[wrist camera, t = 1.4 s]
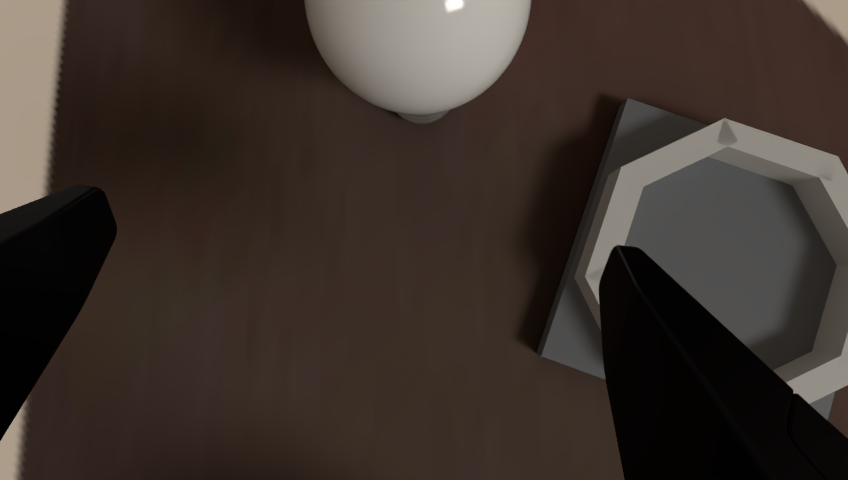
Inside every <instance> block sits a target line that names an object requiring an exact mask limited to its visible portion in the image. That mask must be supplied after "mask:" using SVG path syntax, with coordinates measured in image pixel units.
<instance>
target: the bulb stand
mask: <svg viewBox="0 0 848 480" xmlns="http://www.w3.org/2000/svg"><path fill="white" fill-rule="evenodd" d="M617 245H624V246H633V247H638V248H640V249H642V250H643V251H644V252H645V253H646V254H647V255H648V256H649V257H650V258H651V259H653V260H654V261H655V262H656V263H657V264H658V265H659V266H660V267H661V268H662V269H663V270H664V271H666V272H667V273H668V274H669V275H670V276H671V277H672V278H673V279H674V280H675V281H676V282H677V283H679V284H680V285H681V286H682V287H683V288H684V289H685V290H686V291H687V292H688V293H689V294H690V295H692V296H693V297H694V298H695V299H696V300H697V301H698V302H699V303H700V304H701V305H702V306H703V307H705V308H706V309H707V310H708V311H709V312H710V313H711V314H712V315H713V316H714V317H715V318H716V319H718V320H719V321H720V322H721V323H722V324H723V325H724V326H725V327H726V328H727V329H728V330H729V331H731V332H732V333H733V334H734V335H735V336H736V337H737V338H738V339H739V340H740V341H741V342H742V343H744V344H745V345H746V346H747V347H748V348H749V349H750V350H751V351H752V352H753V353H754V354H755V355H757V356H758V357H759V358H760V359H761V360H762V361H763V362H764V363H765V364H766V365H767V366H768V367H770V368H771V369H772V370H773V371H774V372H775V373H776V374H777V375H778V376H779V377H780V378H781V379H783V380H784V381H785V382H786V383H787V384H788V385H789V386H790V387H791V388H792V389H793V390H794V393H793V394H795V393H797V394H799V395H800V396H801V397H802V398H803V399H804V400H805V401H807V402H808V403H809V404H810V405H811V406H812V407H813V408H814V409H815V410H816V411H817V412H819V413H820V414H821V415H822V416H823V417H824V418H825V419H826V420H827V419H828V416H829V412H830V409H831V405H832V402H833V398H834V394H835V391H836V390H839V389H841V388H843V387H845V386H847V385H848V172H846V170H845V169H844V167H843V165H842V163H841V161H840V160H839V158H838V156H835V155H832V154H829V153H826V152H823V151H820V150H817V149H814V148H811V147H808V146H805V145H802V144H799V143H796V142H793V141H790V140H787V139H784V138H782V137H779V136H776V135H773V134H770V133H767V132H764V131H761V130H758V129H755V128H752V127H749V126H746V125H743V124H740V123H737V122H734V121H731V120H728V119H726V118H724V119H722V120H720V121H718V122H716V123H714V124H712V125H710V126H709V125H706V124H703V123H700V122H697V121H694V120H691V119H688V118H685V117H682V116H679V115H677V114H674V113H671V112H668V111H665V110H662V109H659V108H656V107H653V106H650V105H647V104H644V103H641V102H638V101H635V100H632V99H629V98H627V99H626V100H625V101H624V102H623V103H622V104H621V105H620V106H619V109H618V112H617V115H616V118H615V121H614V124H613V127H612V130H611V133H610V136H609V139H608V142H607V145H606V148H605V151H604V154H603V157H602V160H601V162H600V165H599V168H598V171H597V174H596V177H595V180H594V183H593V186H592V189H591V192H590V195H589V198H588V201H587V204H586V207H585V210H584V213H583V216H582V219H581V222H580V225H579V228H578V231H577V234H576V237H575V240H574V243H573V246H572V249H571V252H570V255H569V258H568V261H567V264H566V267H565V270H564V272H563V275H562V278H561V281H560V284H559V287H558V290H557V293H556V296H555V299H554V302H553V305H552V308H551V311H550V314H549V317H548V320H547V323H546V326H545V329H544V332H543V335H542V338H541V341H540V344H539V347H538V350H537V353H536V354H538V355H540V356H542V357H545V358H548V359H550V360H553V361H556V362H559V363H561V364H564V365H567V366H570V367H572V368H575V369H578V370H580V371H583V372H586V373H589V374H591V375H594V376H597V377H600V378H602V379H605V373H604V365H603V354H602V338H601V322H600V306H599V283H600V279H601V276H602V273H603V271H604V268H605V265H606V263H607V260H608V258H609V255H610V252H611V250H612V249H613V247H615V246H617ZM605 380H606V379H605Z"/></svg>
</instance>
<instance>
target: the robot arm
mask: <svg viewBox="0 0 848 480" xmlns="http://www.w3.org/2000/svg"><path fill="white" fill-rule="evenodd" d="M116 233H117V225H116V222H115V219H114V216H113V214H112V211H111V208H110V205H109V203H108V200H107V197H106V195H105V193H104V192H103V191H102V190H101V189H100V188H98V187H90V186H81V185H76V186H72V187H69V188H67V189H64V190H62V191H59V192H56V193H54V194H51V195H49V196H46V197H43V198H41V199H38V200H36V201H33V202H30V203H28V204H25V205H23V206H20V207H17V208H15V209H12V210H10V211H7V212H4V213H2V214H0V441H1V439H2V437H3V435H4V434H5V432H6V431H7V429H8V428H9V426H10V424H11V423H12V421H13V420H14V418H15V416H16V415H17V413H18V411H19V410H20V408H21V407H22V405H23V403H24V402H25V400H26V398H27V397H28V395H29V394H30V392H31V390H32V389H33V387H34V386H35V384H36V382H37V381H38V379H39V377H40V376H41V374H42V373H43V371H44V369H45V368H46V366H47V364H48V363H49V361H50V360H51V358H52V356H53V355H54V353H55V351H56V350H57V348H58V347H59V345H60V343H61V342H62V340H63V339H64V337H65V335H66V334H67V332H68V330H69V329H70V327H71V326H72V324H73V322H74V321H75V319H76V317H77V316H78V314H79V312H80V310H81V309H82V307H83V305H84V303H85V301H86V299H87V297H88V295H89V293H90V291H91V289H92V287H93V285H94V282H95V280H96V278H97V276H98V274H99V272H100V270H101V268H102V265H103V263H104V261H105V259H106V257H107V255H108V253H109V251H110V248H111V246H112V244H113V242H114V240H115V237H116ZM599 306H600V322H601V338H602V354H603V365H604V373H605V379H606V385H607V390H608V395H609V400H610V405H611V411H612V416H613V421H614V426H615V431H616V437H617V442H618V447H619V452H620V458H621V463H622V468H623V473H624V478H625V480H848V438H847V437H845V436H844V435H843V434H842V433H841V432H840V431H839V430H838V429H836V428H835V427H834V426H833V425H832V424H831V423H830V422H829V421H827V420H826V419H825V418H824V417H823V416H822V415H821V414H820V413H819V412H817V411H816V410H815V409H814V408H813V407H812V406H811V405H810V404H809V403H808V402H807V401H805V400H804V399H803V398H802V397H801V396H800V395H799V394H797V393H795V394H793V393H794V390H793V389H792V388H791V387H790V386H789V385H788V384H787V383H786V382H785V381H784V380H783V379H781V378H780V377H779V376H778V375H777V374H776V373H775V372H774V371H773V370H772V369H771V368H770V367H768V366H767V365H766V364H765V363H764V362H763V361H762V360H761V359H760V358H759V357H758V356H757V355H755V354H754V353H753V352H752V351H751V350H750V349H749V348H748V347H747V346H746V345H745V344H744V343H742V342H741V341H740V340H739V339H738V338H737V337H736V336H735V335H734V334H733V333H732V332H731V331H729V330H728V329H727V328H726V327H725V326H724V325H723V324H722V323H721V322H720V321H719V320H718V319H716V318H715V317H714V316H713V315H712V314H711V313H710V312H709V311H708V310H707V309H706V308H705V307H703V306H702V305H701V304H700V303H699V302H698V301H697V300H696V299H695V298H694V297H693V296H692V295H690V294H689V293H688V292H687V291H686V290H685V289H684V288H683V287H682V286H681V285H680V284H679V283H677V282H676V281H675V280H674V279H673V278H672V277H671V276H670V275H669V274H668V273H667V272H666V271H664V270H663V269H662V268H661V267H660V266H659V265H658V264H657V263H656V262H655V261H654V260H653V259H651V258H650V257H649V256H648V255H647V254H646V253H645V252H644V251H643V250H642V249H640V248H638V247H633V246H624V245H617V246H615V247H613V249H612V250H611V252H610V255H609V258H608V260H607V263H606V265H605V268H604V271H603V273H602V276H601V279H600V283H599Z"/></svg>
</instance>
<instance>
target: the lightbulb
mask: <svg viewBox="0 0 848 480" xmlns="http://www.w3.org/2000/svg"><path fill="white" fill-rule="evenodd" d="M304 4H305V11H306V16H307V21H308V25H309V28H310V32H311V35H312V37H313V40H314V42H315V45H316V47H317V49H318V51H319V53H320V55H321V56H322V58H323V60H324V61H325V63H326V64H327V66H328V67H329V69H330V70H331V71H332V72H333V74H334V75H335V76H336V77H337V78H338V79H339V80H340V81H341V82H342V83H343V84H344V85H345V86H346V87H347V88H348V89H349V90H351V91H352V92H353V93H354V94H356V95H357V96H359V97H360V98H362V99H363V100H365V101H367V102H369V103H371V104H373V105H375V106H377V107H380V108H382V109H385V110H388V111H392V112H396V113H398V115H399V116H401V117H402V118H403V119H405V120H406V121H408V122H411V123H414V124H420V125H424V124H430V123H434V122H436V121H438V120H440V119H441V118H443V117H444V116H445V115H446V114H447V113H448V111H449V110H451V109H454V108H457V107H459V106H461V105H464V104H466V103H468V102H469V101H471V100H473V99H474V98H476V97H478V96H479V95H480V94H482V93H483V92H484V91H486V90H487V89H488V88H489V87H490V86H491V85H492V84H494V83H495V82H496V80H497V79H498V78H499V77H500V76H501V75H502V74H503V72H504V71H505V70H506V69H507V67H508V66H509V64H510V63H511V61H512V60H513V58H514V56H515V54H516V52H517V51H518V49H519V46H520V44H521V42H522V39H523V37H524V34H525V31H526V28H527V24H528V20H529V15H530V8H531V0H304Z"/></svg>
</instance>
